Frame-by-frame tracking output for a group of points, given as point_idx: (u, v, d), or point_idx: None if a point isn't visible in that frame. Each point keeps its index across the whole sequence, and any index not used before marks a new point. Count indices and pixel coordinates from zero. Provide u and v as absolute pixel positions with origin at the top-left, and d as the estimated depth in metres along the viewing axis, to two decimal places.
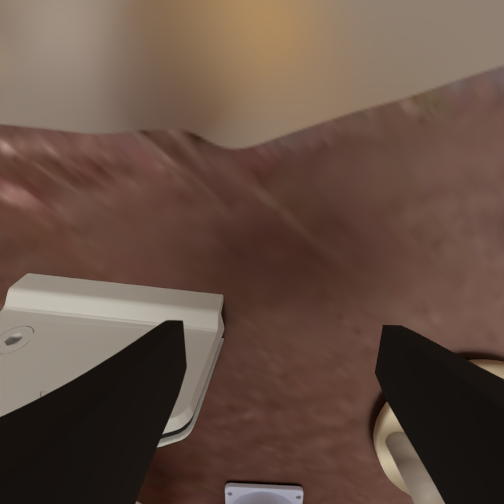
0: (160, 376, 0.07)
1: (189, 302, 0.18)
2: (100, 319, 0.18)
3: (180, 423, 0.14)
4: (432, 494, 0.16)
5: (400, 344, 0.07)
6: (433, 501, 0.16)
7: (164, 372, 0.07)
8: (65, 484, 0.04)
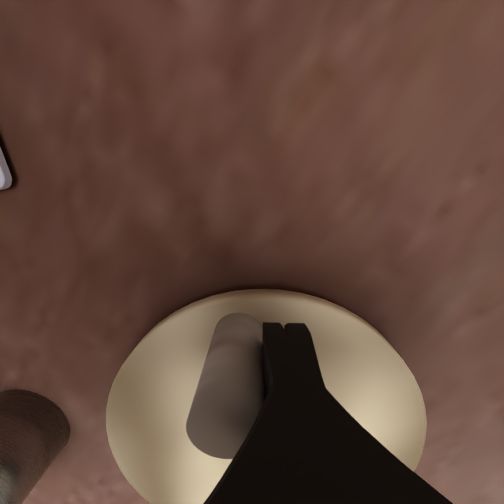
0: None
1: None
2: None
3: None
4: None
5: (263, 340, 0.07)
6: (224, 438, 0.06)
7: None
8: None
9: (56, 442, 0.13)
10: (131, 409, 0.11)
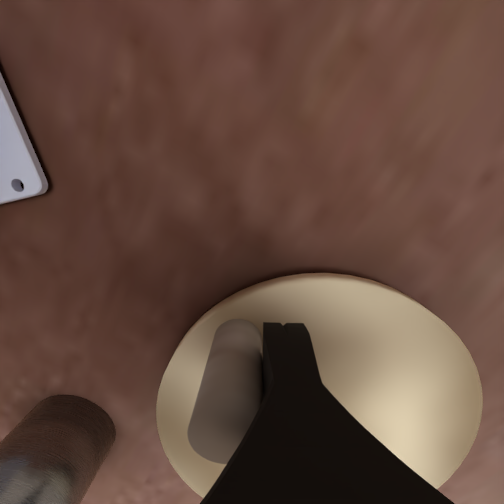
0: None
1: None
2: None
3: None
4: (246, 428, 0.06)
5: (263, 340, 0.07)
6: (229, 444, 0.06)
7: None
8: None
9: (105, 444, 0.13)
10: (184, 442, 0.12)
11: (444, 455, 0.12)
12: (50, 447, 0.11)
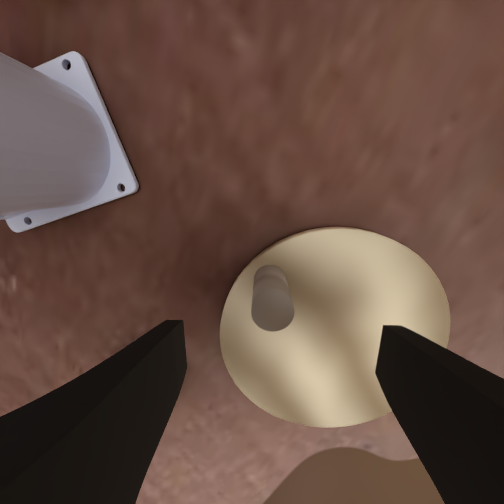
0: (160, 376, 0.07)
1: None
2: None
3: None
4: (283, 305, 0.11)
5: (400, 344, 0.07)
6: (274, 317, 0.11)
7: (164, 372, 0.07)
8: (65, 484, 0.04)
9: None
10: (241, 362, 0.17)
11: None
12: None
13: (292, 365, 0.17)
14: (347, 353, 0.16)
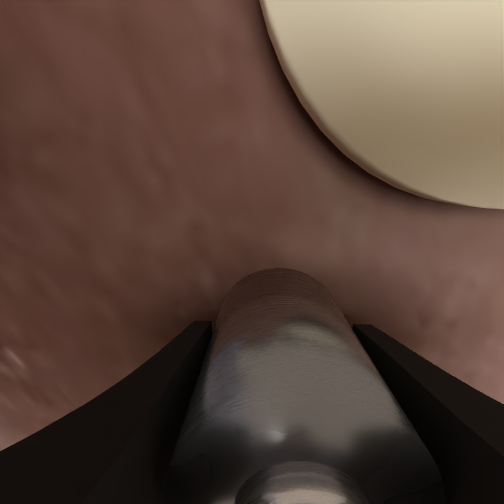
0: (195, 377, 0.07)
1: None
2: None
3: None
4: None
5: (366, 343, 0.07)
6: None
7: (198, 373, 0.07)
8: (131, 486, 0.04)
9: (323, 291, 0.09)
10: (424, 137, 0.06)
11: None
12: (255, 303, 0.07)
13: None
14: None
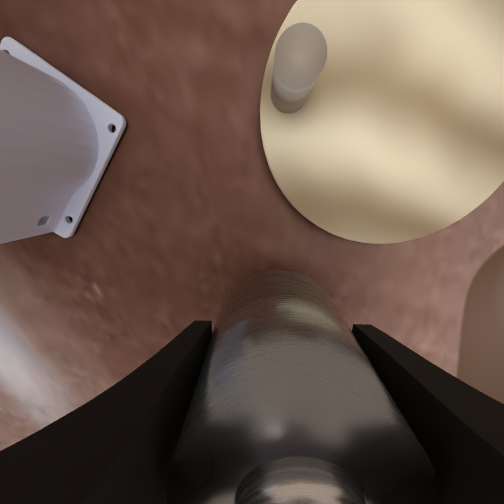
0: (195, 377, 0.07)
1: None
2: None
3: None
4: (306, 35, 0.09)
5: (366, 343, 0.07)
6: (307, 58, 0.09)
7: (198, 373, 0.07)
8: (130, 486, 0.04)
9: (323, 292, 0.09)
10: (323, 206, 0.15)
11: None
12: (256, 302, 0.07)
13: (376, 170, 0.14)
14: (426, 110, 0.13)
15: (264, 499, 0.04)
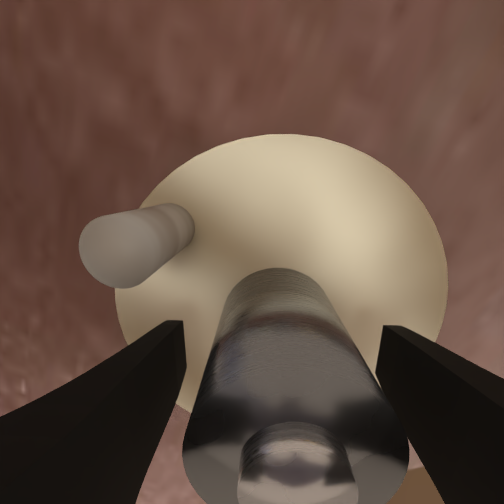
0: (160, 375, 0.07)
1: None
2: None
3: None
4: (131, 238, 0.06)
5: (400, 344, 0.07)
6: (122, 262, 0.06)
7: (164, 372, 0.07)
8: (65, 484, 0.04)
9: (322, 291, 0.10)
10: None
11: (420, 314, 0.11)
12: (263, 295, 0.08)
13: None
14: None
15: (269, 451, 0.05)
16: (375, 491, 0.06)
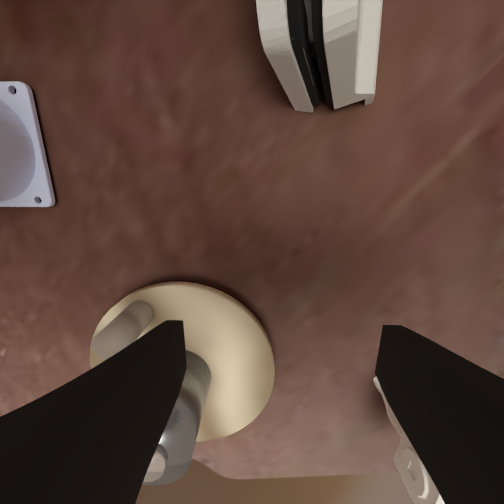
0: (160, 376, 0.07)
1: None
2: None
3: (334, 13, 0.09)
4: (117, 343, 0.14)
5: (400, 344, 0.07)
6: (110, 350, 0.14)
7: (164, 372, 0.07)
8: (65, 484, 0.04)
9: (205, 374, 0.18)
10: None
11: (255, 398, 0.20)
12: None
13: None
14: None
15: None
16: (174, 474, 0.14)
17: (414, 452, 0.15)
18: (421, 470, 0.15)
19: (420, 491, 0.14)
